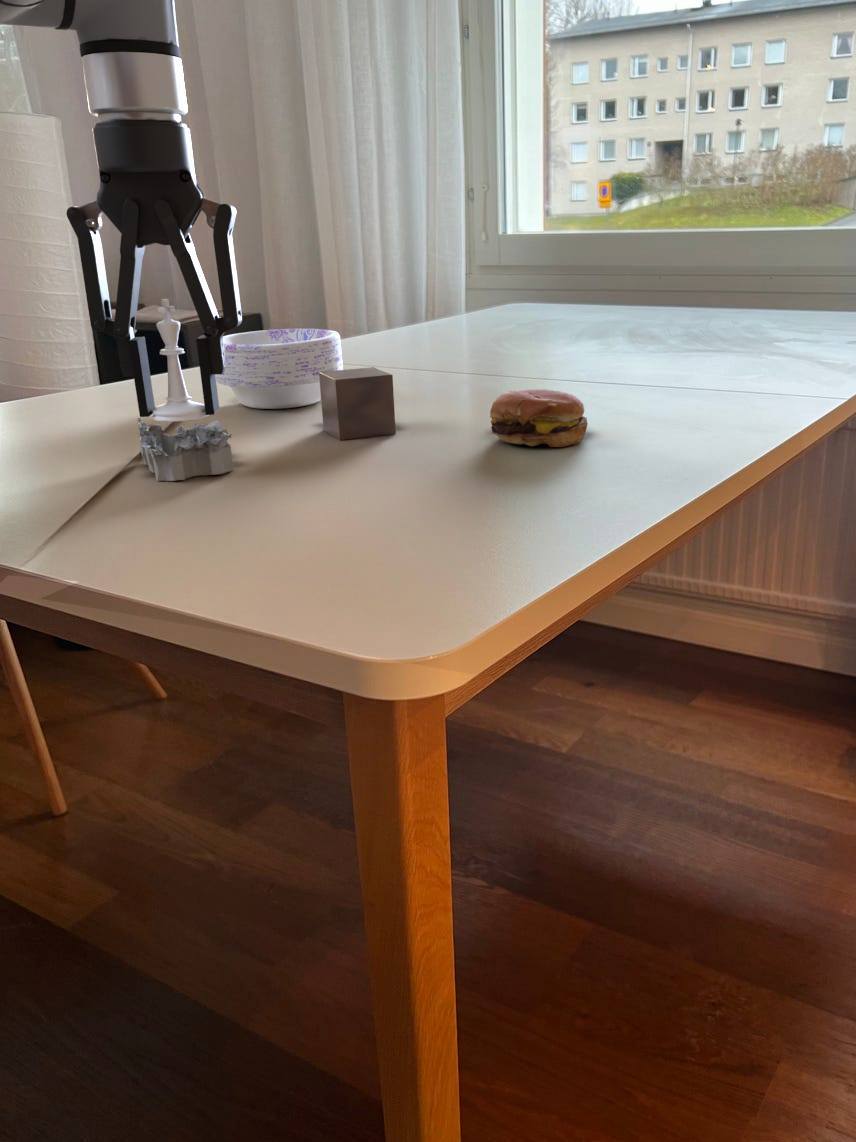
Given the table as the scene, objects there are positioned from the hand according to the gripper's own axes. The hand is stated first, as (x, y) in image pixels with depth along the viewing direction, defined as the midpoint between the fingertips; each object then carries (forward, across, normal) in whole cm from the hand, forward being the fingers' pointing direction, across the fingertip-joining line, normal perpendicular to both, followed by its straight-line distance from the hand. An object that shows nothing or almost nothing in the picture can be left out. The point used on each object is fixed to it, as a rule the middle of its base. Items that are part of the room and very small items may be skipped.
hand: (180, 412), depth 89 cm
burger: (+5, -33, -6) cm, 34 cm away
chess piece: (+1, 0, 0) cm, 1 cm away
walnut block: (+5, -15, -13) cm, 21 cm away
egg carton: (+5, 0, 0) cm, 5 cm away
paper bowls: (+5, -5, -32) cm, 33 cm away
